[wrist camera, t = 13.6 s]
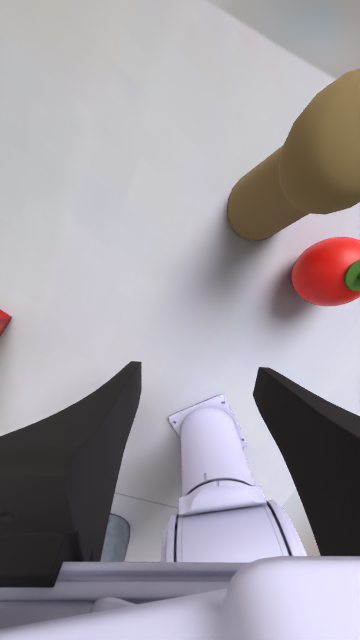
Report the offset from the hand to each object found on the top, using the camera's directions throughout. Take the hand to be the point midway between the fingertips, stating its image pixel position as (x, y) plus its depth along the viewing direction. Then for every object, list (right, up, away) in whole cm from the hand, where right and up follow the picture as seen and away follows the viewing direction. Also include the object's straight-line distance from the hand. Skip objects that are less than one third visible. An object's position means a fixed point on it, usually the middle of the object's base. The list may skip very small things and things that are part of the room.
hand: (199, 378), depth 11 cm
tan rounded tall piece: (+6, +15, +7) cm, 17 cm away
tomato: (+12, +9, +8) cm, 17 cm away
